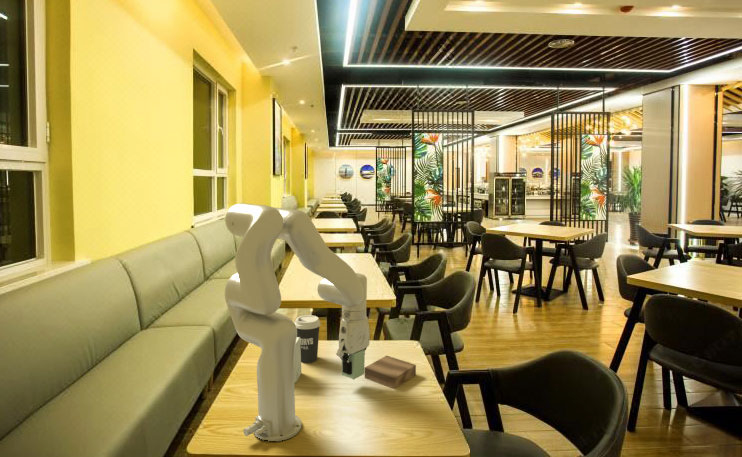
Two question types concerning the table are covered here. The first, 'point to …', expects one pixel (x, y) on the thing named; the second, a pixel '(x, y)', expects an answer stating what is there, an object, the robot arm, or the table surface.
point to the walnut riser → (390, 371)
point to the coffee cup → (308, 337)
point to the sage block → (356, 364)
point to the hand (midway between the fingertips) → (353, 369)
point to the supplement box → (297, 360)
